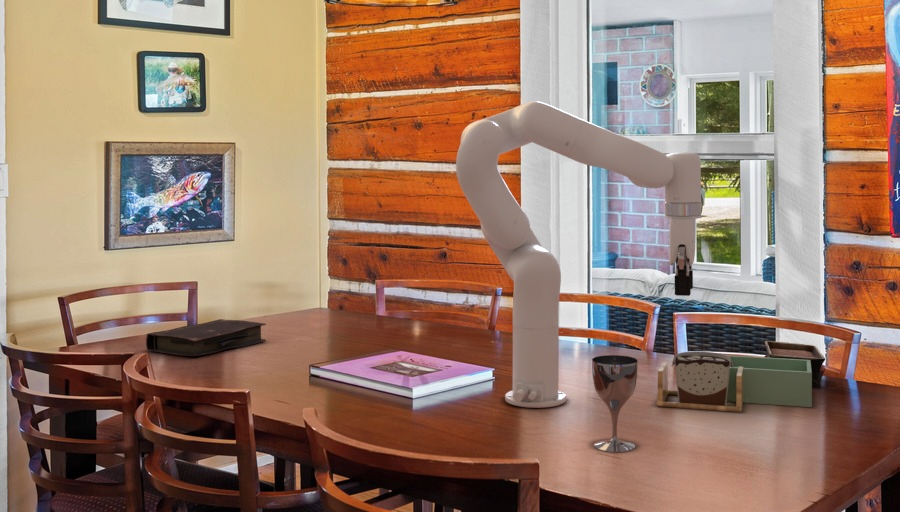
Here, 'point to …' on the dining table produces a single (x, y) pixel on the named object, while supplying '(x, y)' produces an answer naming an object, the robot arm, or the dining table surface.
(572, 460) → the dining table surface
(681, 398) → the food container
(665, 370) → the drying rack
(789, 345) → the dark brown tapered box
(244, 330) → the diary
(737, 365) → the tub
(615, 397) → the wine glass
